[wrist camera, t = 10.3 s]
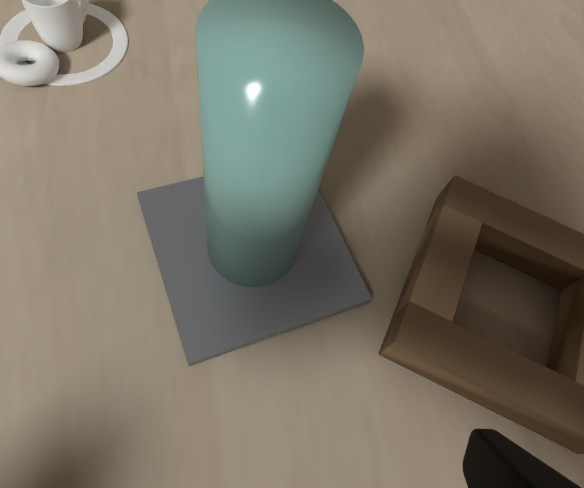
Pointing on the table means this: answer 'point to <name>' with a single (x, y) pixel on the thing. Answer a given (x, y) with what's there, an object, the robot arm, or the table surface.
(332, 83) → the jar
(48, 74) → the teacup and saucer
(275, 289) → the coaster
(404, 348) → the pocket block
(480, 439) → the robot arm
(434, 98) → the table surface
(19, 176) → the table surface
